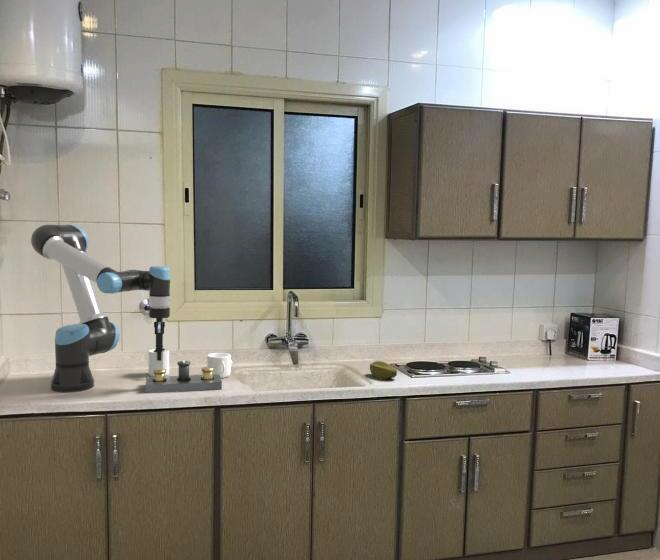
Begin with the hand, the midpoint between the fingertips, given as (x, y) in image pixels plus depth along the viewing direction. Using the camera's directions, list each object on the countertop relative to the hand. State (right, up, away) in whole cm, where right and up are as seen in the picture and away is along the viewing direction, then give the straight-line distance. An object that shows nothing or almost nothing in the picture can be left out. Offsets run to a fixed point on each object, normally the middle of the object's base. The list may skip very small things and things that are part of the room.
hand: (159, 368), depth 228 cm
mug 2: (+20, -7, +20) cm, 29 cm away
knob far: (+17, -7, +5) cm, 20 cm away
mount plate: (+9, -8, +3) cm, 12 cm away
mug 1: (-6, -6, +20) cm, 21 cm away
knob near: (0, -7, +1) cm, 8 cm away
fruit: (+88, -8, +26) cm, 92 cm away
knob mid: (+9, -5, +3) cm, 10 cm away
